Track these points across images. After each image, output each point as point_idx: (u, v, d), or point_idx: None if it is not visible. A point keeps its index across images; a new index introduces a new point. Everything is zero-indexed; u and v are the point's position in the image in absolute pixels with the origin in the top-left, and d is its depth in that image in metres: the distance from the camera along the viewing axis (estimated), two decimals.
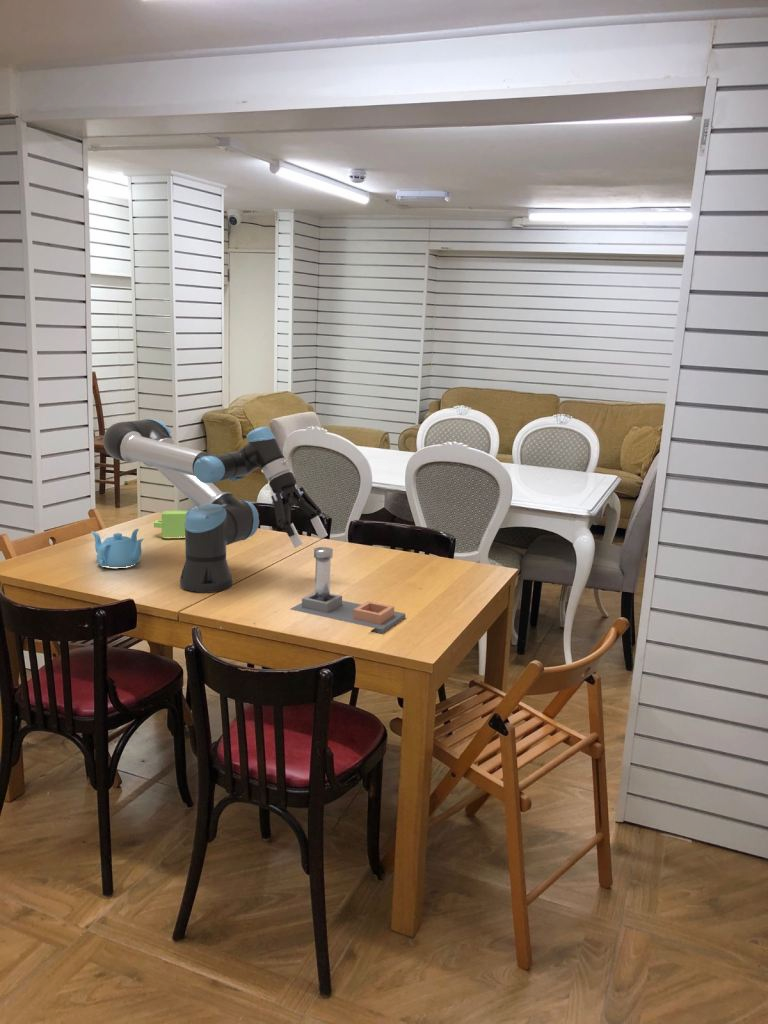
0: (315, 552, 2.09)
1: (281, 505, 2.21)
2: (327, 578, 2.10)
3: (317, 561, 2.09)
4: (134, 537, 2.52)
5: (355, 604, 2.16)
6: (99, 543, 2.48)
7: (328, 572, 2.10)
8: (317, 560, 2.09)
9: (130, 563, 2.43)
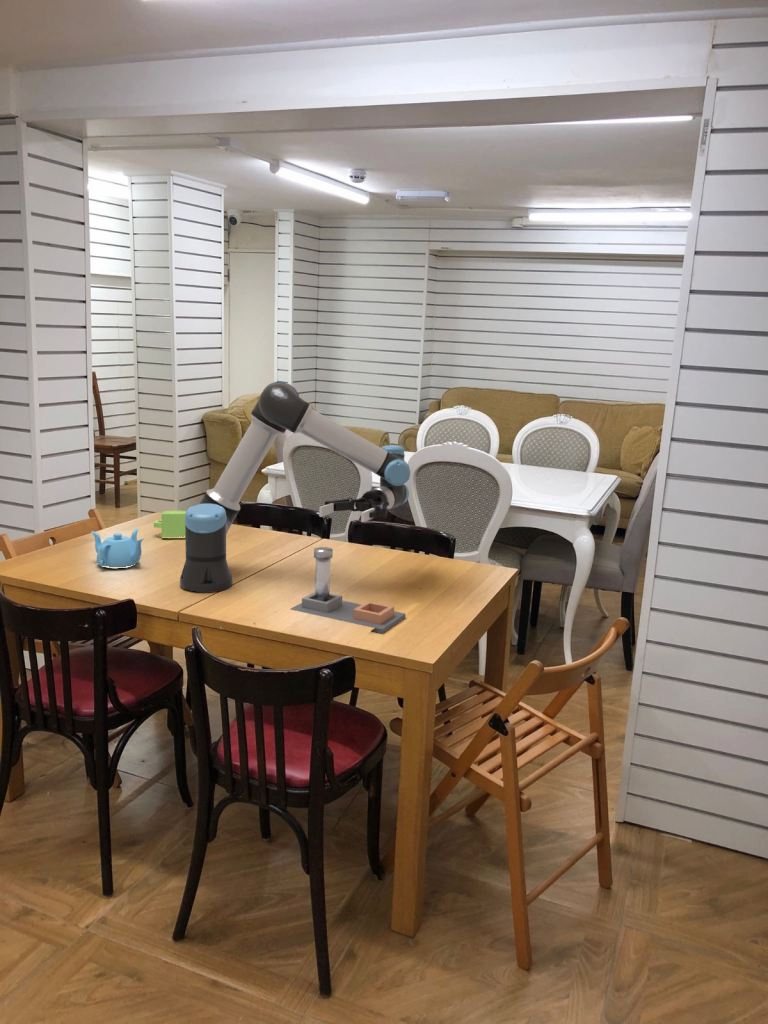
0: (315, 552, 2.09)
1: None
2: (327, 578, 2.10)
3: (317, 561, 2.09)
4: (134, 537, 2.52)
5: (355, 604, 2.16)
6: (99, 543, 2.48)
7: (328, 572, 2.10)
8: (317, 560, 2.09)
9: (130, 563, 2.43)
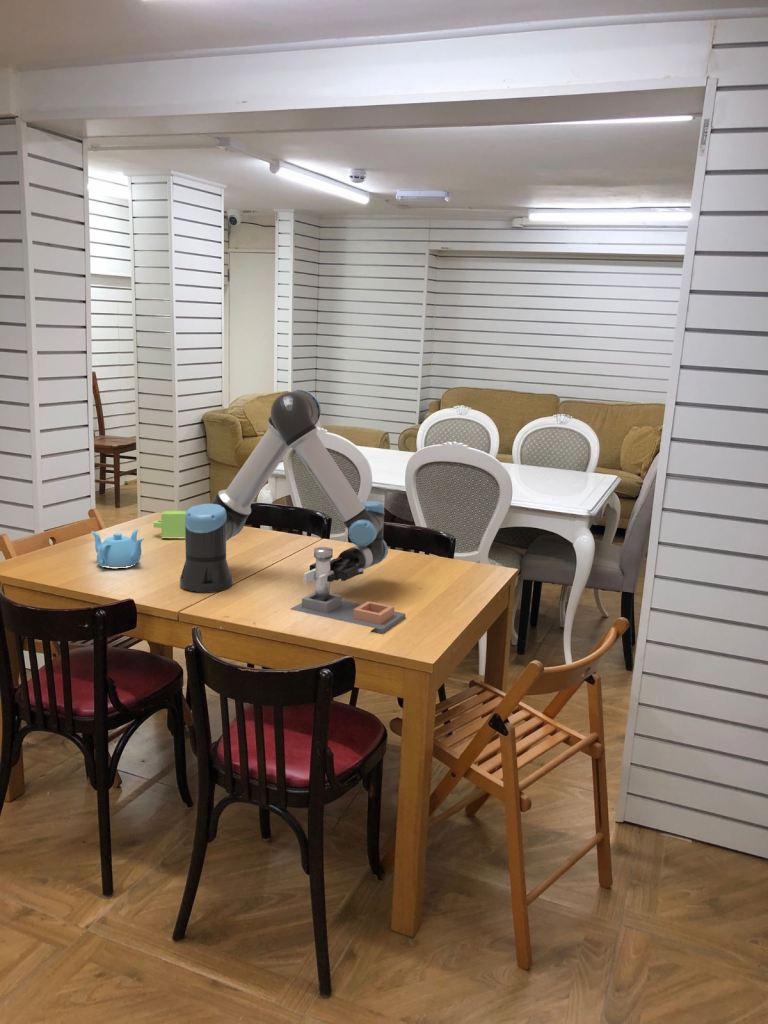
0: (315, 552, 2.09)
1: None
2: None
3: (317, 561, 2.09)
4: (134, 537, 2.52)
5: (355, 604, 2.16)
6: (99, 543, 2.48)
7: None
8: (317, 560, 2.09)
9: (130, 563, 2.43)
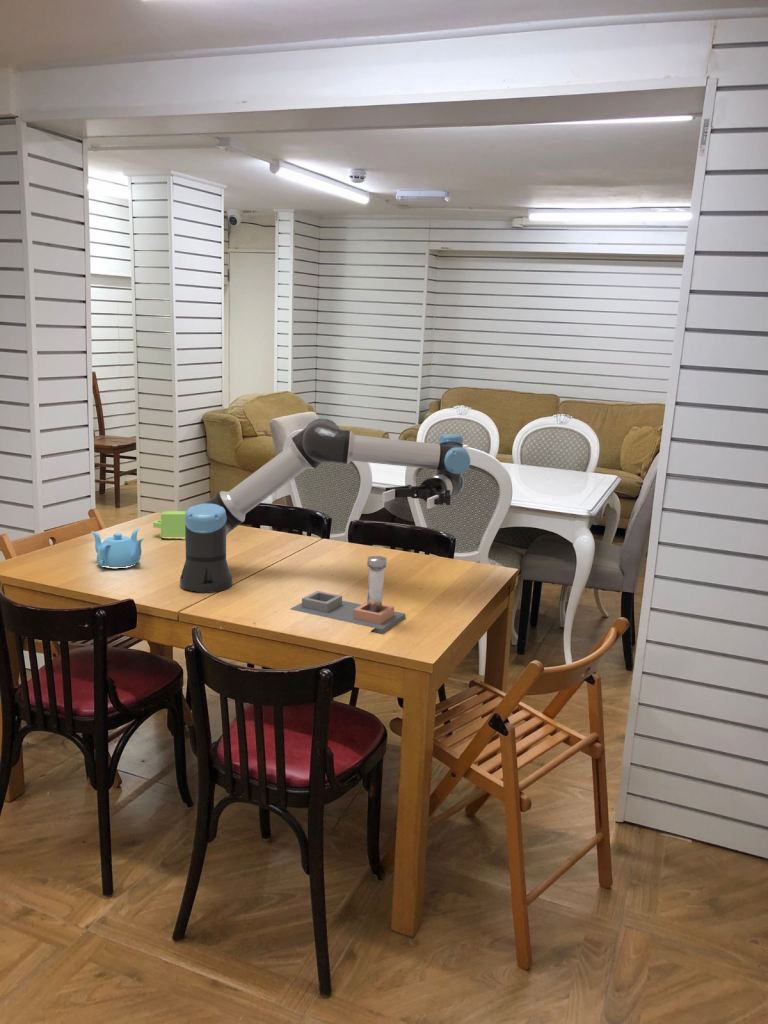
0: (369, 561, 2.02)
1: None
2: (380, 588, 2.03)
3: (371, 570, 2.03)
4: (134, 537, 2.52)
5: (355, 604, 2.16)
6: (99, 543, 2.48)
7: (381, 582, 2.03)
8: (371, 569, 2.03)
9: (130, 563, 2.43)
